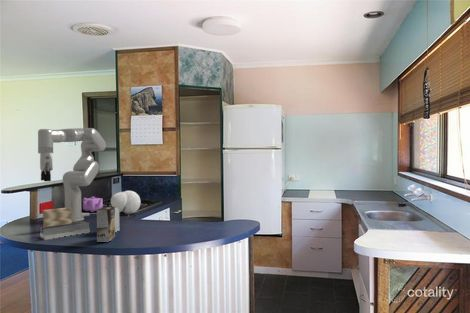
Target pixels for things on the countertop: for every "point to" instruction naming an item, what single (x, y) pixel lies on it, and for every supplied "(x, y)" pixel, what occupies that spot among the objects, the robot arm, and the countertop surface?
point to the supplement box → (117, 220)
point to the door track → (64, 230)
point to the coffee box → (105, 224)
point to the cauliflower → (126, 202)
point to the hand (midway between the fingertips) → (45, 180)
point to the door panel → (57, 216)
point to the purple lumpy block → (92, 204)
